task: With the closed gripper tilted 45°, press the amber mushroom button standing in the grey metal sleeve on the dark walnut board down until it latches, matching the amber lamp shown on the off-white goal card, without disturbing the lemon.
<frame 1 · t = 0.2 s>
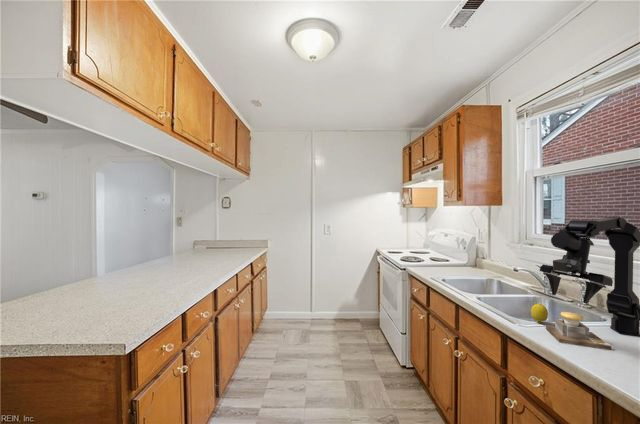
hand: (568, 298, 97), 16 cm above the countertop, tool pointing down, fingers open, 9 cm apart
lemon: (539, 323, 116), on the countertop
button: (571, 321, 103), point 6 cm above the countertop, slide at 0.0 cm
board: (575, 338, 102), on the countertop
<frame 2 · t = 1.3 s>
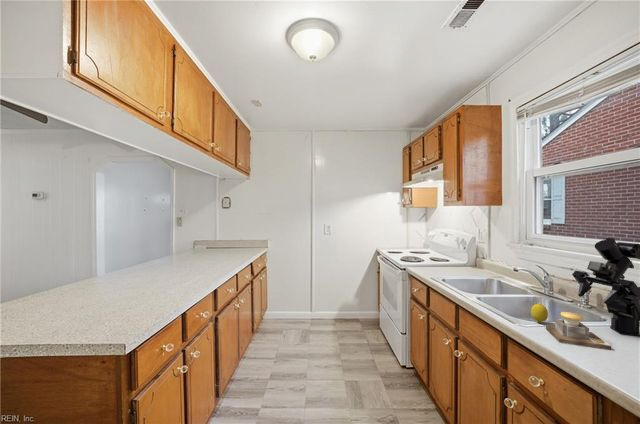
hand: (591, 299, 105), 13 cm above the countertop, tool tilted 45°, fingers open, 8 cm apart
nothing on the countertop moved.
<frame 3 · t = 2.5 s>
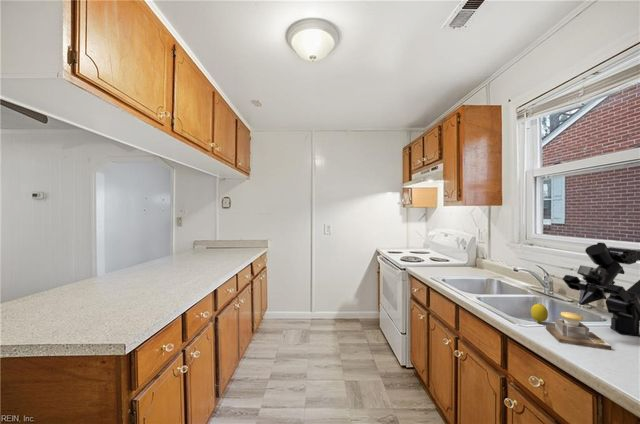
hand: (580, 304, 104), 12 cm above the countertop, tool tilted 45°, fingers closed
nothing on the countertop moved.
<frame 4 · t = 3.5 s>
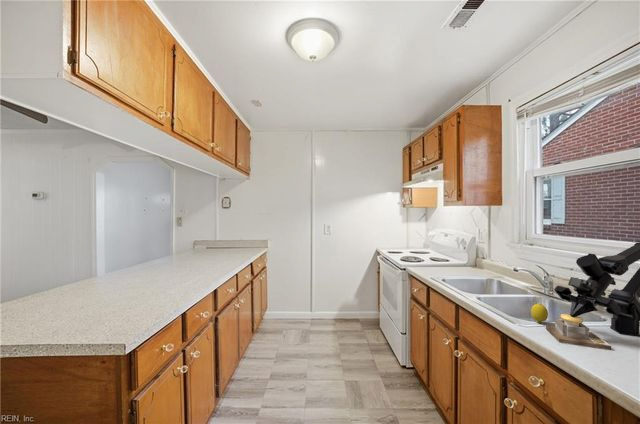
hand: (571, 316, 103), 8 cm above the countertop, tool tilted 45°, fingers closed, pressing on button
button: (571, 323, 103), point 5 cm above the countertop, slide at 0.9 cm, touching gripper
everything else where it was.
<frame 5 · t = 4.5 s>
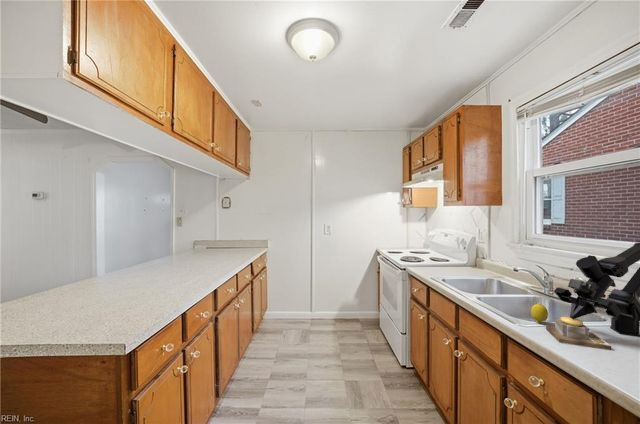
hand: (571, 318, 103), 7 cm above the countertop, tool tilted 45°, fingers closed
button: (571, 326, 103), point 4 cm above the countertop, slide at 1.8 cm
everything else where it was.
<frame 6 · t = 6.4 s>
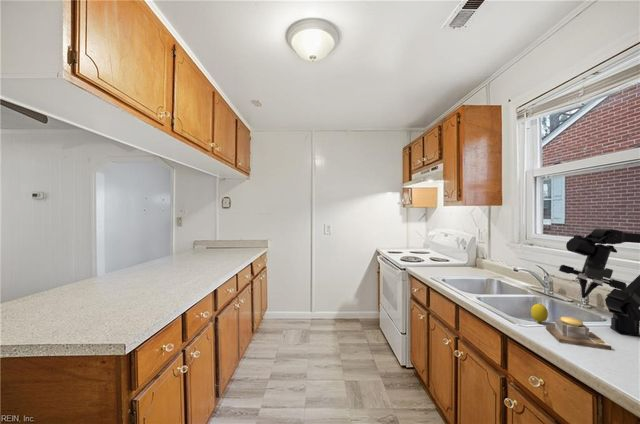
hand: (583, 297, 109), 13 cm above the countertop, tool tilted 15°, fingers closed
nothing on the countertop moved.
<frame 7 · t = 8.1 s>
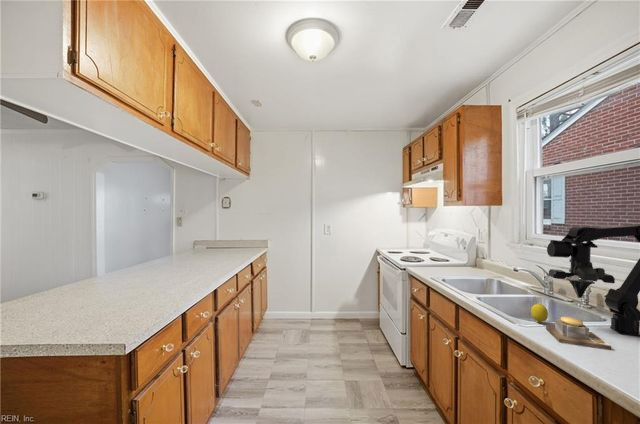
hand: (579, 297, 112), 12 cm above the countertop, tool pointing down, fingers closed
nothing on the countertop moved.
at the end: button slide at 1.8 cm; lemon moved 0.2 cm from its start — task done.
